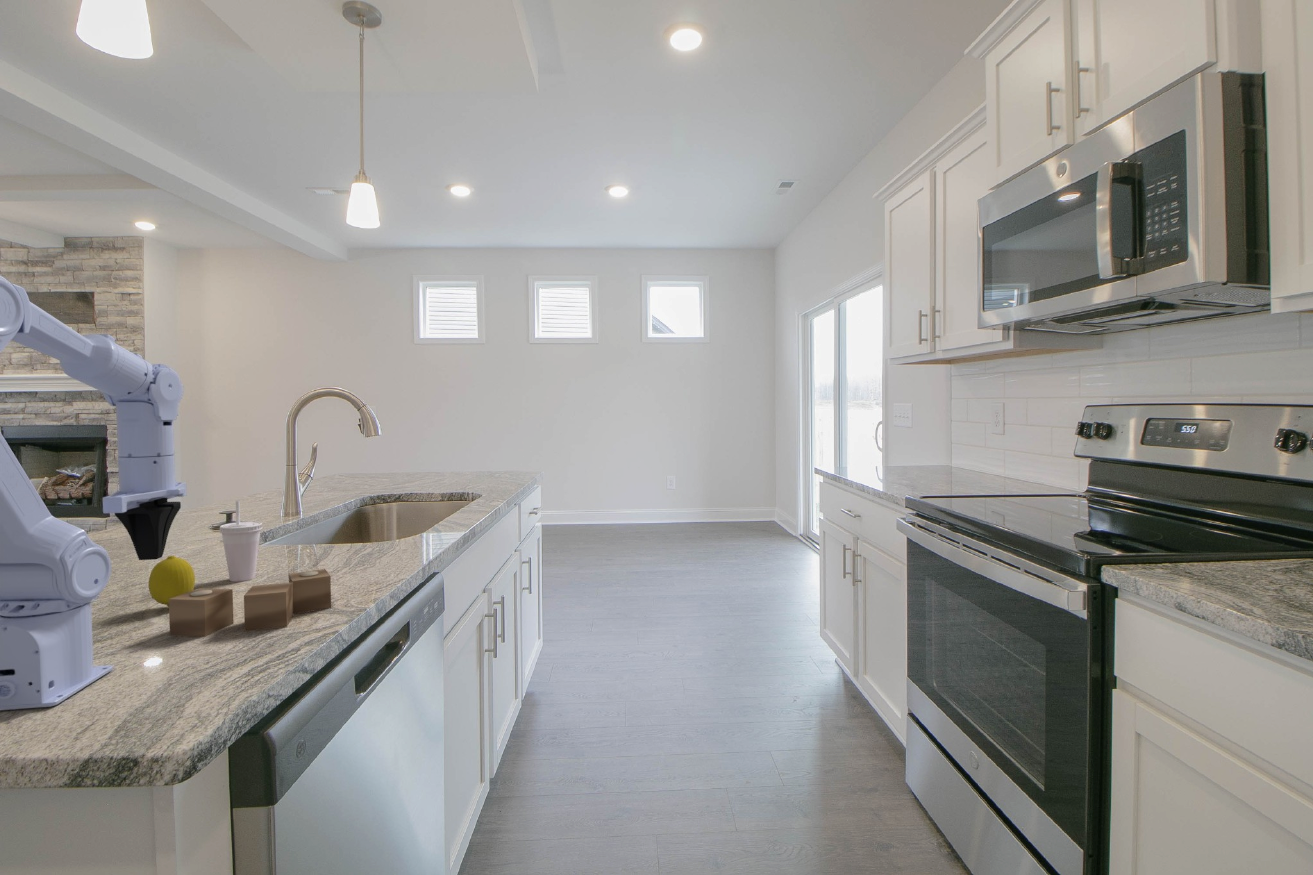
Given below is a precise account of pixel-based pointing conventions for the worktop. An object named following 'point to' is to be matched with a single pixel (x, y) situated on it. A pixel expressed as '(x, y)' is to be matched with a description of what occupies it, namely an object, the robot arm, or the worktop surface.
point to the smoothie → (241, 547)
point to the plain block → (268, 606)
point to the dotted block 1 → (200, 612)
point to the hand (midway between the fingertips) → (150, 558)
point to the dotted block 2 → (311, 590)
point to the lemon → (171, 579)
